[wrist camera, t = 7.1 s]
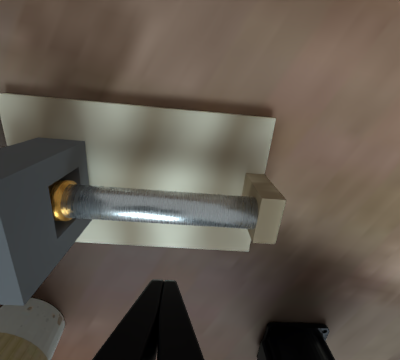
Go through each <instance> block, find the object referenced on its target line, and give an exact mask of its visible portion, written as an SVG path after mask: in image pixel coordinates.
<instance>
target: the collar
mask: <svg viewBox="0 0 400 360" xmlns="http://www.w3.org/2000/svg"><path fill="white" fill-rule="evenodd" d="M58 180H69V181H74V182H76V184H78V185H89V177H88V167H87V157H86V147H85V141H77V140H64V139H52V138H40V137H38V138H34V139H31V140H27V141H24V142H21V143H17V144H14V145H10V146H7V147H4V148H0V305H19V306H24V305H25V304H26V303H27V302H28V300H29V299H30V298H31V297H32V295H33V294H34V293H35V291H36V290H37V289H38V288H39V286H40V285H41V284H42V283H43V281H44V280H45V279H46V278H47V276H48V275H49V274H50V273H51V271H52V270H53V269H54V267H55V266H56V265H57V264H58V262H59V261H60V260H61V259H62V257H63V256H64V255H65V254H66V252H67V251H68V250H69V249H70V247H71V246H72V245H73V243H74V242H75V241H76V240H77V238H78V237H79V236H80V235H81V233H82V232H83V231H84V230H85V228H86V227H87V226H88V225H89V223H90V222H91V221H92V219H79V218H72V219H71V220H69V221H55V220H54V217H53V212H52V206H51V200H50V194H49V188H48V186H50V185H52V184H53V183H55V182H56V181H58Z"/></svg>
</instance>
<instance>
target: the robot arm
mask: <svg viewBox="0 0 400 360" xmlns="http://www.w3.org/2000/svg"><path fill="white" fill-rule="evenodd" d="M328 334H329V329H328V327H327V326H326V325H321V324H295V323H269V324H268V325H267V327H266V331H265V334H264V338H263V340H262V342H261V344H260V348H259V352H258V355H257V358H258V359H257V360H335V359H334V357H333V355H332V353H331V351H330V349H329V347H328V345H327V344H326V342H325V340H326V338H327V336H328ZM156 354H157V360H204V358H203V355H202V352H201V349H200V347H199V344H198V341H197V338H196V335H195V333H194V330H193V327H192V324H191V321H190V318H189V316H188V313H187V310H186V307H185V304H184V302H183V299H182V296H181V293H180V290H179V288H178V285H177V282H176V281H175V280H165V281H163V280H155V279H153V280H151V282H150V283H149V284H148V286H147V287H146V288H145V290H144V291H143V292H142V294H141V295H140V296H139V298H138V299H137V300H136V302H135V303H134V304H133V306H132V307H131V308H130V310H129V311H128V312H127V314H126V315H125V316H124V318H123V319H122V320H121V322H120V323H119V324H118V326H117V327H116V328H115V330H114V331H113V332H112V334H111V335H110V337H109V338H108V339H107V341H106V342H105V343H104V345H103V346H102V347H101V349H100V350H99V351H98V353H97V354H96V355H95V357H94V358H93V359H92V360H155V359H156Z"/></svg>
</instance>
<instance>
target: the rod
mask: <svg viewBox="0 0 400 360" xmlns="http://www.w3.org/2000/svg"><path fill="white" fill-rule="evenodd" d="M48 188H49V194H50V200H51V206H52V212H53V217H54V220H55V221H69V220H71V219H72V218H79V219H95V220H112V221H128V222H144V223H160V224H176V225H192V226H208V227H224V228H241V229H254V228H255V227H256V224H257V219H258V204H257V200H256V198H255V197H248V196H234V195H220V194H206V193H192V192H177V191H163V190H149V189H135V188H121V187H106V186H92V185H78V184H76V182H74V181H69V180H58V181H56V182H55V183H53V184H52V185H50V186H48Z"/></svg>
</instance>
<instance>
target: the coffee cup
mask: <svg viewBox="0 0 400 360" xmlns="http://www.w3.org/2000/svg"><path fill="white" fill-rule="evenodd" d="M64 327H65V321H64V318H63V316H62V314H61V313H60V312H59V311H58V310H57V309H56V308H55V307H54V306H52V305H51V304H49V303H47V302H45V301H42V300H39V299H35V298H30V299H29V300H28V302H27V303H26V304H25V305H24V306H19V305H3V306H2V307H1V308H0V360H51V358H52V356H53V354H54V351H55V349H56V346H57V344H58V342H59V339H60V337H61V335H62V332H63V330H64Z"/></svg>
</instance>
